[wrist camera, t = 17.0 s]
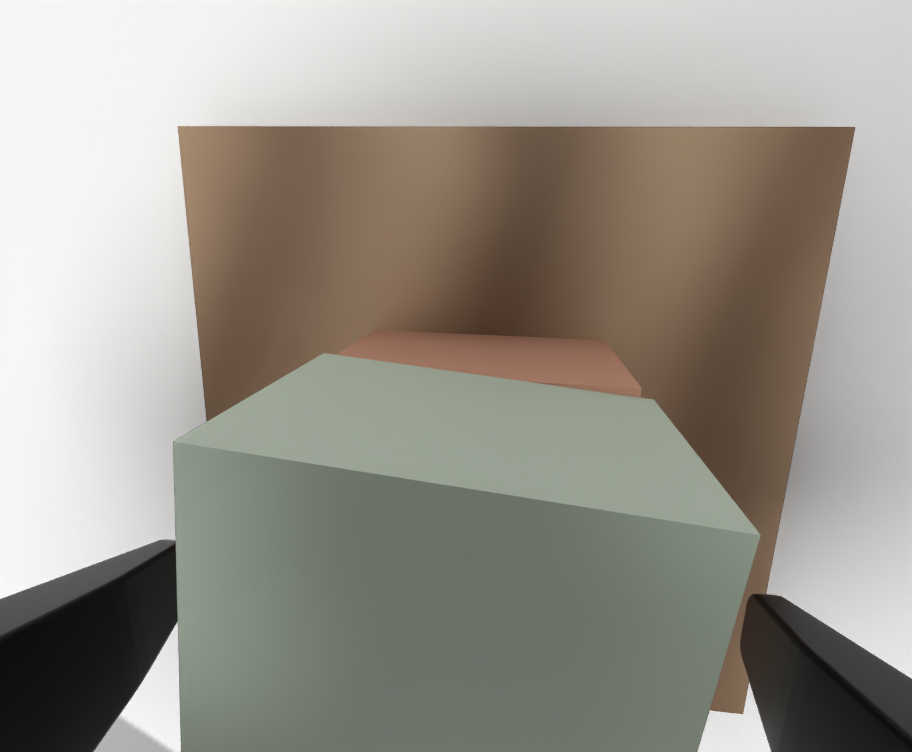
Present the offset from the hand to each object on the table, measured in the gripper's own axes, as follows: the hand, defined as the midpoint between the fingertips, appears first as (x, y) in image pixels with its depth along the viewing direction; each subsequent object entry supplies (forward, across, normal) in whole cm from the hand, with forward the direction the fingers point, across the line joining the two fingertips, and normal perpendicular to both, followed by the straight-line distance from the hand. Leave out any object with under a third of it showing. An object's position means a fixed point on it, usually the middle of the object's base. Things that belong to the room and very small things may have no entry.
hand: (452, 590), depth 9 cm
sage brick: (+2, 0, 0) cm, 2 cm away
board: (+8, 0, 0) cm, 8 cm away
